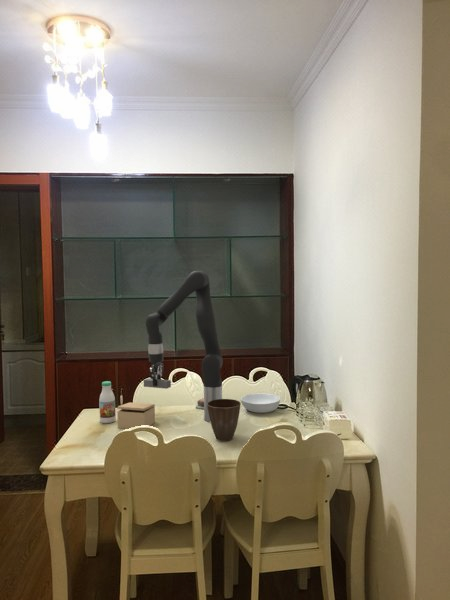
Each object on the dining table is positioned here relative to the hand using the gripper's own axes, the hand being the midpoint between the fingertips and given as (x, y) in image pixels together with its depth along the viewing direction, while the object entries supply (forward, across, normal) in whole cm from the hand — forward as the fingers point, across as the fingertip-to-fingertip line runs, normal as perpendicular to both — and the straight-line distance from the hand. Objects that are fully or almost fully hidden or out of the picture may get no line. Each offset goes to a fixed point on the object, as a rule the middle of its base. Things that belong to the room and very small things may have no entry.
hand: (157, 384), depth 250 cm
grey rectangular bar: (+1, 0, 0) cm, 1 cm away
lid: (+7, -16, +4) cm, 18 cm away
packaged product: (+17, +20, -24) cm, 36 cm away
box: (+16, -16, +4) cm, 23 cm away
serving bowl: (+17, +21, -50) cm, 57 cm away
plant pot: (+17, -24, -43) cm, 52 cm away
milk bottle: (+16, -14, +21) cm, 30 cm away
